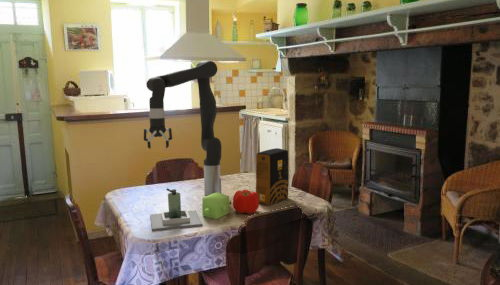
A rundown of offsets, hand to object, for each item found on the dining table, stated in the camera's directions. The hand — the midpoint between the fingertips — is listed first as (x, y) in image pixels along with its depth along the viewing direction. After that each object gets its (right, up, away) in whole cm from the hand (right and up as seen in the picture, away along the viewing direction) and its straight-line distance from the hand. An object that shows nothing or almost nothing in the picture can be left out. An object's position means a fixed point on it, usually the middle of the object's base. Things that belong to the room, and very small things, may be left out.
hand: (158, 148), depth 209 cm
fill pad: (+13, -34, -21) cm, 41 cm away
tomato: (+45, -32, -8) cm, 56 cm away
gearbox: (+31, -33, -13) cm, 47 cm away
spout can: (+12, -33, -21) cm, 41 cm away
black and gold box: (+60, -29, +11) cm, 67 cm away
